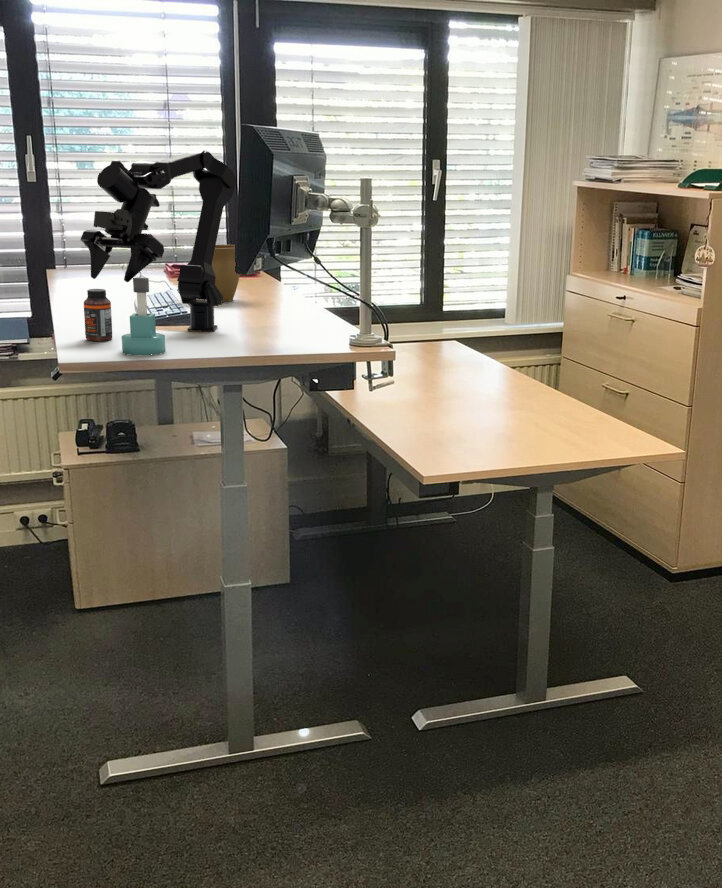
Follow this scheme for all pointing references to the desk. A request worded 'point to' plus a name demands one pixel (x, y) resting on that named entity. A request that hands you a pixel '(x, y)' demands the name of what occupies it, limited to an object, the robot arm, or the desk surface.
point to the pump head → (141, 294)
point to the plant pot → (225, 271)
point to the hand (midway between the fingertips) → (109, 279)
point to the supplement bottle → (97, 316)
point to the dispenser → (143, 336)
